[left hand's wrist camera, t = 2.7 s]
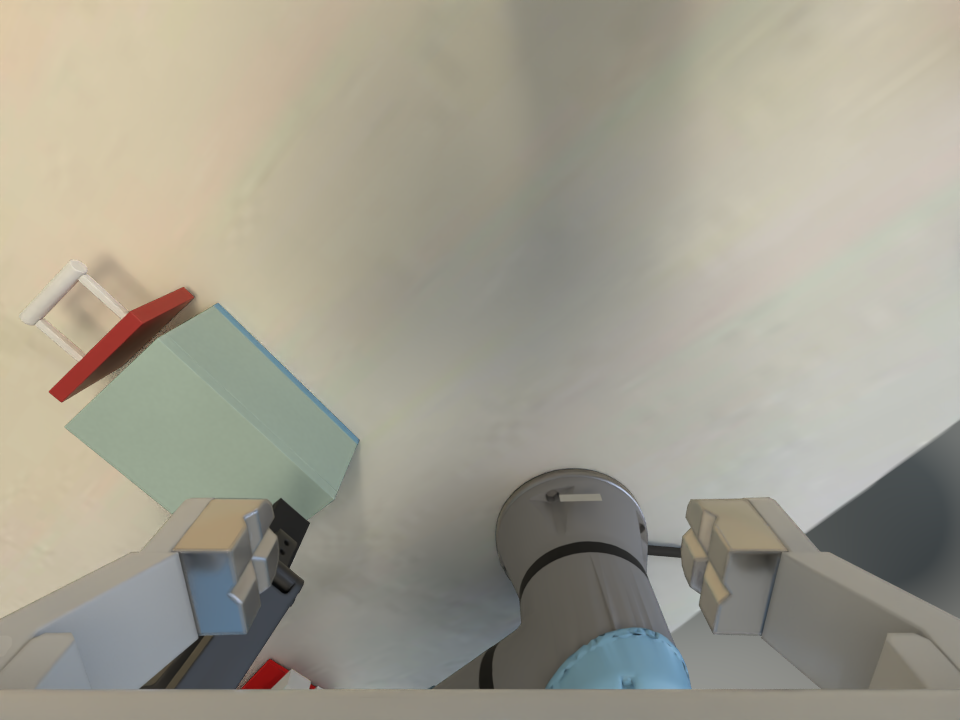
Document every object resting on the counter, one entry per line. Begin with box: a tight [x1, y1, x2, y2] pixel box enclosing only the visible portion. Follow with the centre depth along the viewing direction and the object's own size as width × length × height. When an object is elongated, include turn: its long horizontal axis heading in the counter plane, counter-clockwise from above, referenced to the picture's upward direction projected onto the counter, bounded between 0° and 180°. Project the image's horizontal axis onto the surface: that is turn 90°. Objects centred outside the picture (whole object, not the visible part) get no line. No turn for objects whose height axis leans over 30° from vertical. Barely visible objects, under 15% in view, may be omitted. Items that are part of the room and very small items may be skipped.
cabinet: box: [65, 303, 359, 520], centre depth 47 cm, size 18×11×10 cm, turn 40°
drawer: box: [19, 259, 194, 402], centre depth 45 cm, size 22×10×8 cm, turn 40°
